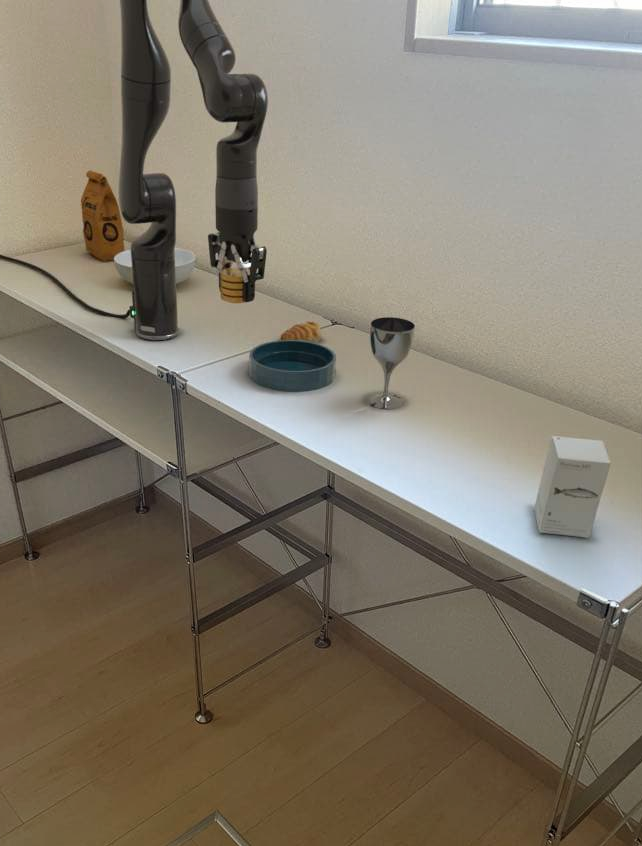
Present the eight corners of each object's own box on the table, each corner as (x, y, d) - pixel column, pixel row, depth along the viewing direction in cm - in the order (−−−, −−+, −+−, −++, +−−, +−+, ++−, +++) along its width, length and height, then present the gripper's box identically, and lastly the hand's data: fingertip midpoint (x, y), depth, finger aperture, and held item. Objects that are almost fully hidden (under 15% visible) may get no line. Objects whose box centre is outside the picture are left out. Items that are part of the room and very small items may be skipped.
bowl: (231, 374, 167) (231, 353, 164) (293, 354, 177) (294, 334, 174) (290, 401, 157) (291, 379, 154) (352, 378, 166) (353, 357, 164)
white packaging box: (537, 534, 120) (556, 457, 113) (533, 508, 126) (550, 433, 119) (590, 540, 119) (612, 462, 112) (583, 513, 125) (603, 438, 118)
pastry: (292, 350, 179) (293, 333, 176) (273, 341, 183) (273, 325, 181) (325, 341, 184) (325, 325, 181) (305, 333, 188) (305, 316, 186)
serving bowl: (154, 267, 229) (152, 241, 225) (212, 281, 219) (211, 255, 215) (98, 284, 214) (96, 257, 211) (158, 301, 204) (157, 273, 201)
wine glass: (378, 412, 153) (386, 334, 145) (356, 396, 159) (362, 320, 151) (413, 405, 156) (423, 328, 148) (390, 389, 162) (398, 315, 154)
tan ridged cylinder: (214, 298, 156) (213, 271, 153) (238, 292, 159) (238, 265, 157) (234, 307, 152) (234, 278, 150) (259, 300, 156) (259, 272, 153)
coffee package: (96, 263, 230) (88, 178, 218) (82, 252, 239) (73, 170, 227) (130, 259, 234) (124, 176, 222) (114, 248, 243) (108, 168, 231)
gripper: (194, 198, 148) (197, 291, 158) (247, 213, 140) (246, 310, 149) (226, 193, 153) (227, 284, 162) (279, 207, 144) (277, 302, 154)
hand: (236, 296), depth 156 cm, fingers closed on tan ridged cylinder, 6 cm apart
